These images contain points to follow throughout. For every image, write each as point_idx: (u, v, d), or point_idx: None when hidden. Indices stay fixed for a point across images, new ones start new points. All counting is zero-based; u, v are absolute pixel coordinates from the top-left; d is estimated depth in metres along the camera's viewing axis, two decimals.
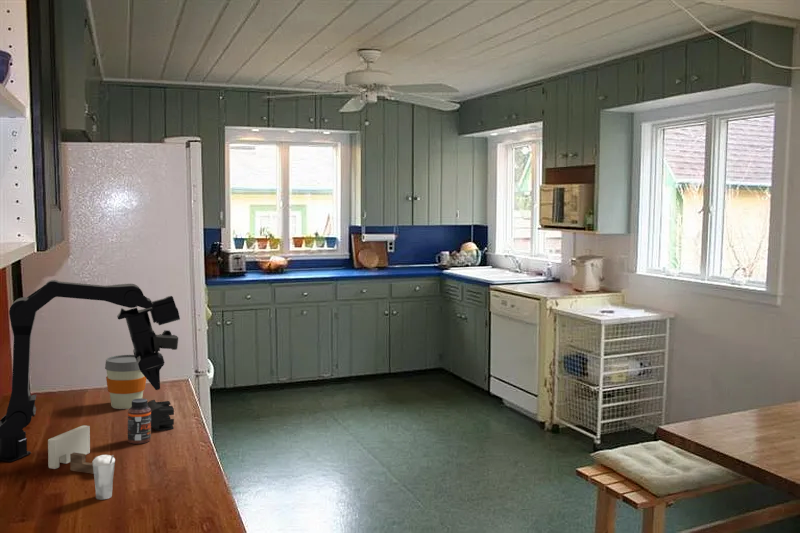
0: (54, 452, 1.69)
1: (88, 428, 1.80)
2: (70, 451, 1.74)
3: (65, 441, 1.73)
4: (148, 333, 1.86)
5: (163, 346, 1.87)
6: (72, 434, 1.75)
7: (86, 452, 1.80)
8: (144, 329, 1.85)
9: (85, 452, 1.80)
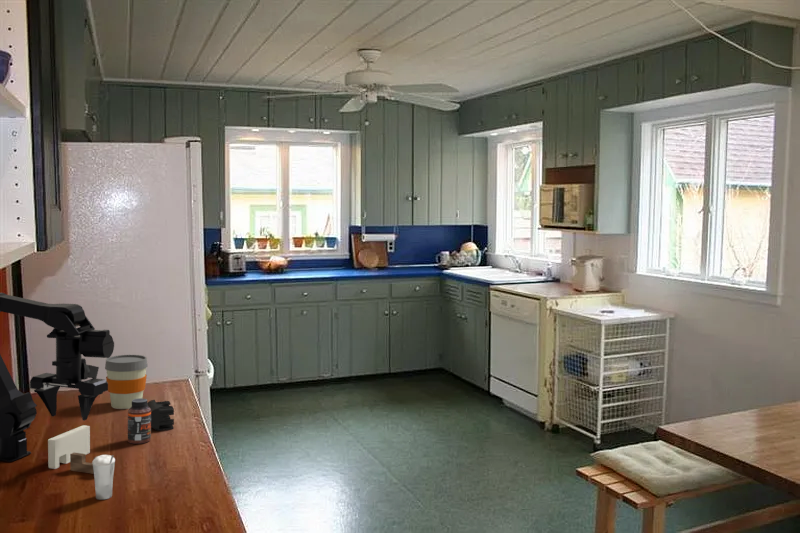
0: (54, 452, 1.69)
1: (88, 428, 1.80)
2: (70, 451, 1.74)
3: (65, 441, 1.73)
4: (81, 359, 1.74)
5: (89, 374, 1.77)
6: (72, 434, 1.75)
7: (86, 452, 1.80)
8: (65, 356, 1.71)
9: (85, 452, 1.80)
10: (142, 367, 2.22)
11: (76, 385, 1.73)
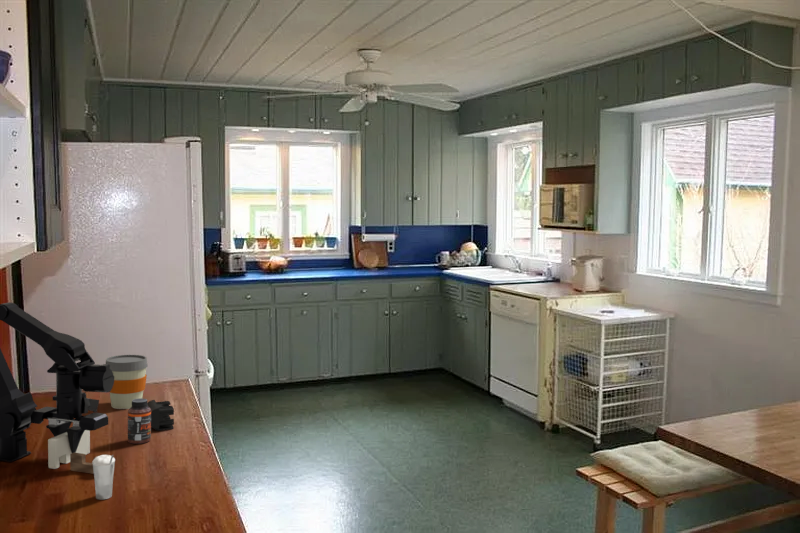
0: (54, 452, 1.69)
1: None
2: (70, 451, 1.74)
3: (65, 441, 1.73)
4: (81, 393, 1.75)
5: (89, 408, 1.78)
6: None
7: (86, 452, 1.80)
8: (66, 391, 1.71)
9: (85, 452, 1.80)
10: (142, 367, 2.22)
11: (76, 419, 1.74)
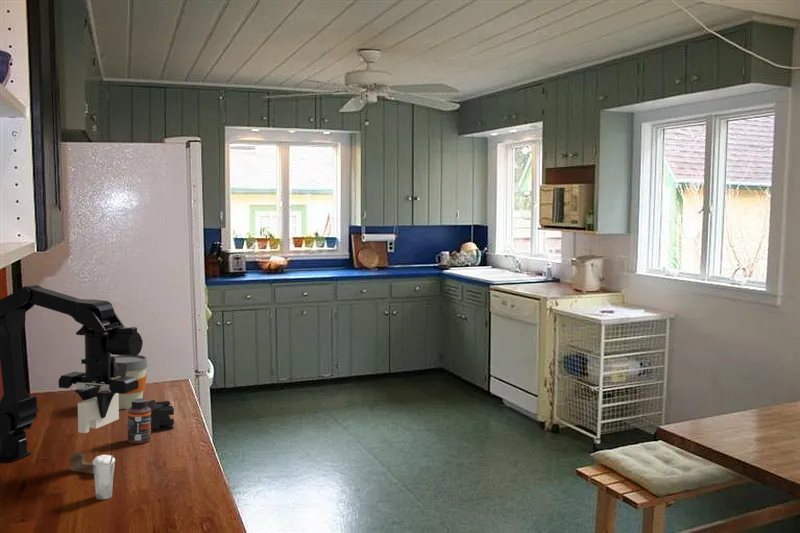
0: (84, 416, 1.65)
1: (117, 393, 1.75)
2: (99, 416, 1.70)
3: (95, 406, 1.68)
4: (110, 356, 1.70)
5: (118, 372, 1.73)
6: None
7: (115, 418, 1.75)
8: (93, 354, 1.67)
9: (114, 418, 1.75)
10: (142, 367, 2.22)
11: None
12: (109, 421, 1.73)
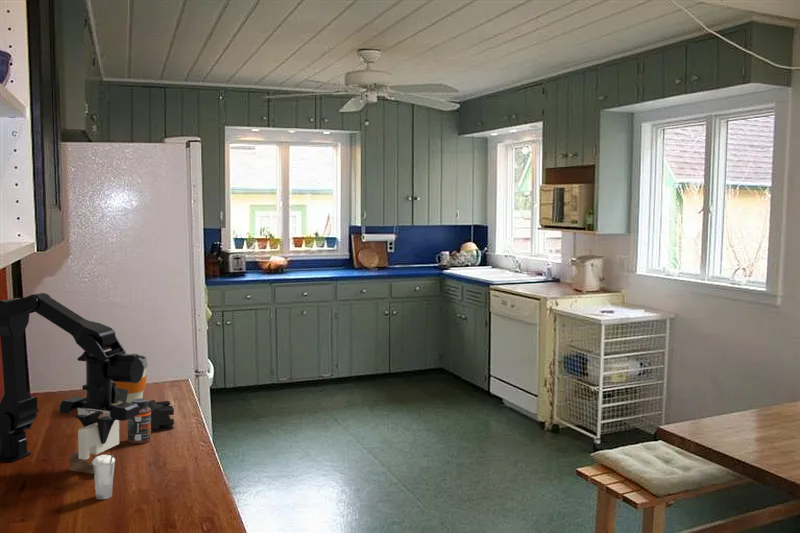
0: (84, 442, 1.65)
1: None
2: (99, 442, 1.70)
3: (95, 432, 1.68)
4: (111, 382, 1.71)
5: (119, 398, 1.74)
6: None
7: (115, 443, 1.75)
8: (95, 380, 1.67)
9: (114, 443, 1.75)
10: None
11: (107, 409, 1.69)
12: (109, 446, 1.73)
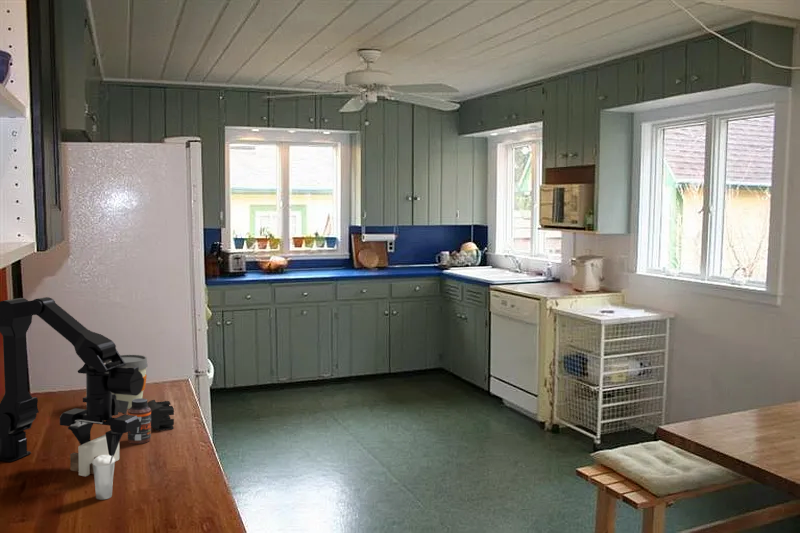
0: (85, 459, 1.65)
1: None
2: None
3: (95, 448, 1.68)
4: (111, 394, 1.71)
5: (119, 410, 1.74)
6: (102, 440, 1.71)
7: (116, 459, 1.76)
8: (95, 392, 1.67)
9: (115, 459, 1.75)
10: (142, 367, 2.22)
11: (107, 422, 1.69)
12: None
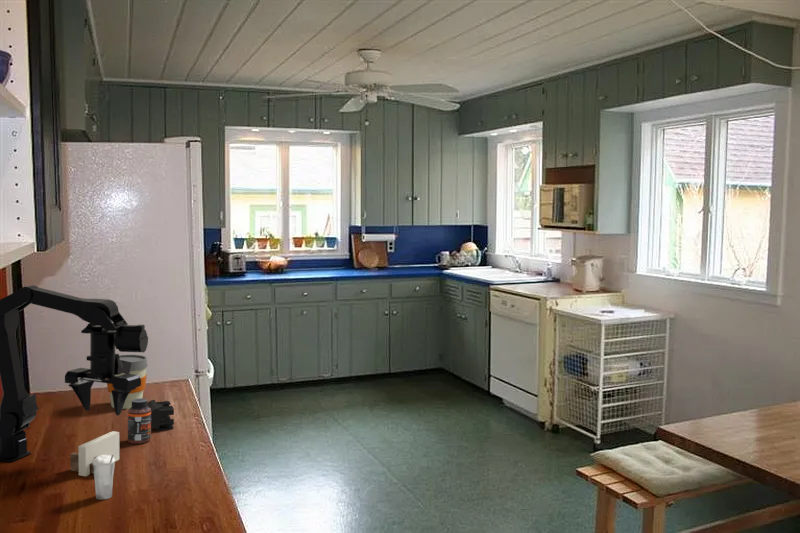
0: (85, 459, 1.65)
1: (118, 434, 1.76)
2: None
3: (95, 448, 1.68)
4: (115, 354, 1.76)
5: (122, 369, 1.79)
6: (102, 440, 1.71)
7: (116, 459, 1.76)
8: (101, 351, 1.72)
9: (115, 459, 1.75)
10: (142, 367, 2.22)
11: (110, 380, 1.74)
12: None
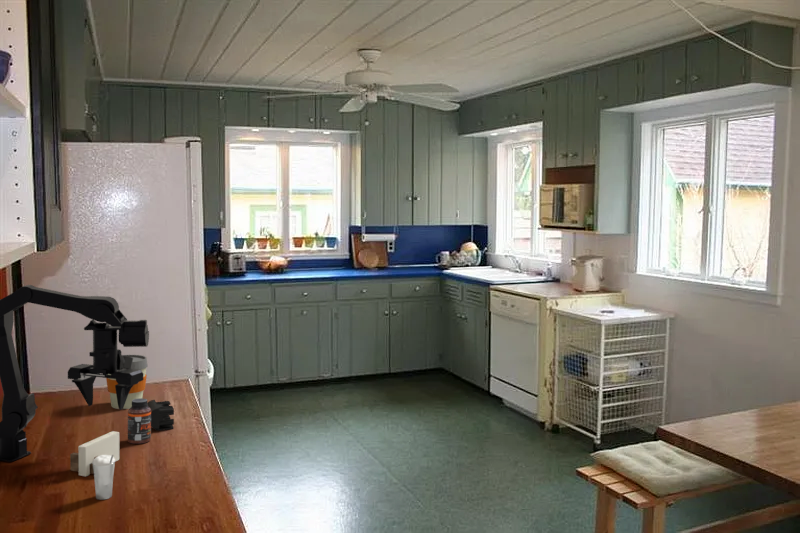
0: (85, 459, 1.65)
1: (118, 434, 1.76)
2: None
3: (95, 448, 1.68)
4: (117, 350, 1.80)
5: (124, 365, 1.83)
6: (102, 440, 1.71)
7: (116, 459, 1.76)
8: (106, 347, 1.76)
9: (115, 459, 1.75)
10: (142, 367, 2.22)
11: (113, 375, 1.78)
12: None
